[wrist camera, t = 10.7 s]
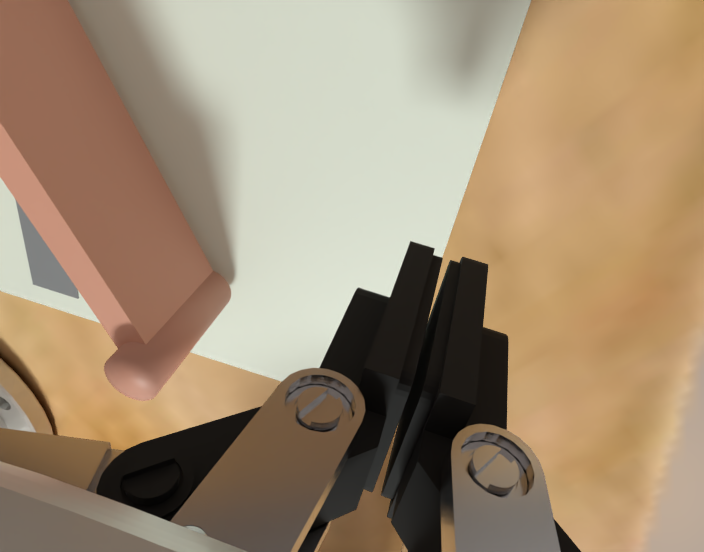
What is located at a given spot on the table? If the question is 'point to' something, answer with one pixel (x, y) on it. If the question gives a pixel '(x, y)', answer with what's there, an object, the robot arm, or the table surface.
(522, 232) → the table surface
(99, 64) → the panel
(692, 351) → the table surface
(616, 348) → the table surface
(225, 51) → the board
